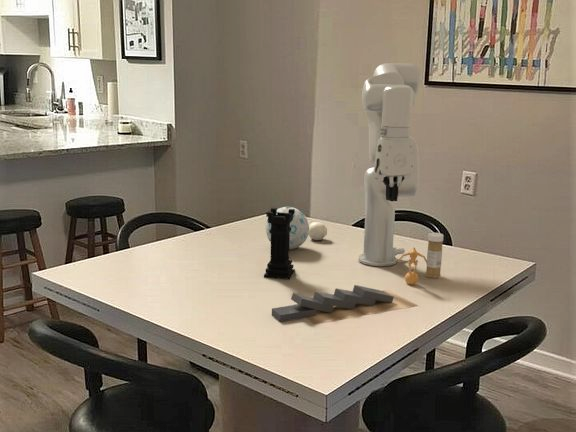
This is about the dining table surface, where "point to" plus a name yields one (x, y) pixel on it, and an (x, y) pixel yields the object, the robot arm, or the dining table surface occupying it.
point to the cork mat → (361, 309)
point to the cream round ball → (317, 231)
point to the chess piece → (280, 245)
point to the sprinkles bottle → (434, 255)
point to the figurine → (410, 277)
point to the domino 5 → (373, 293)
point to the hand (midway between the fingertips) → (391, 200)
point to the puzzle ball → (294, 228)
